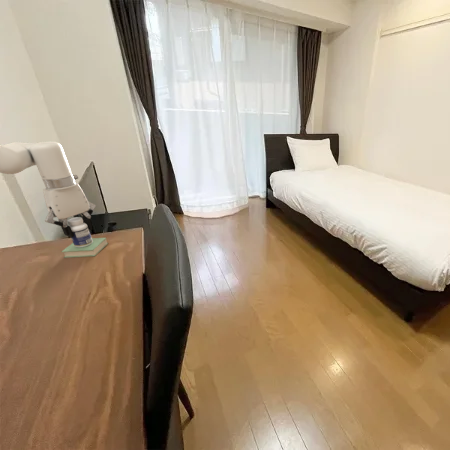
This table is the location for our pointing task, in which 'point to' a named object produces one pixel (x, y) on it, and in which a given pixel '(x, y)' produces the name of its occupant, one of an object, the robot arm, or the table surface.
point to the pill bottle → (80, 232)
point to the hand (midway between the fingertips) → (79, 231)
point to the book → (85, 249)
